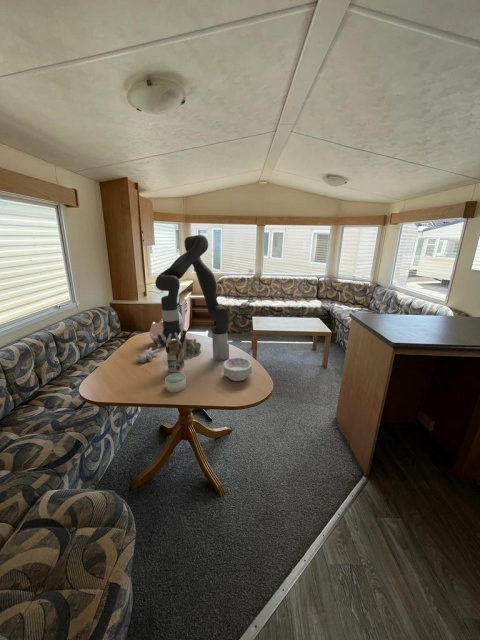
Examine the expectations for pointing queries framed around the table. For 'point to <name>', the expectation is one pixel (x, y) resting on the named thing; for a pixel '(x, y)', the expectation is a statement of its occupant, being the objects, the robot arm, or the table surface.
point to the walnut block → (173, 348)
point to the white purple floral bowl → (237, 368)
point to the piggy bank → (157, 329)
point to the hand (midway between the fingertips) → (173, 351)
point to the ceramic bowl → (175, 382)
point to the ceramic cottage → (191, 348)
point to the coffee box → (176, 361)
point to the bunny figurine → (146, 355)
